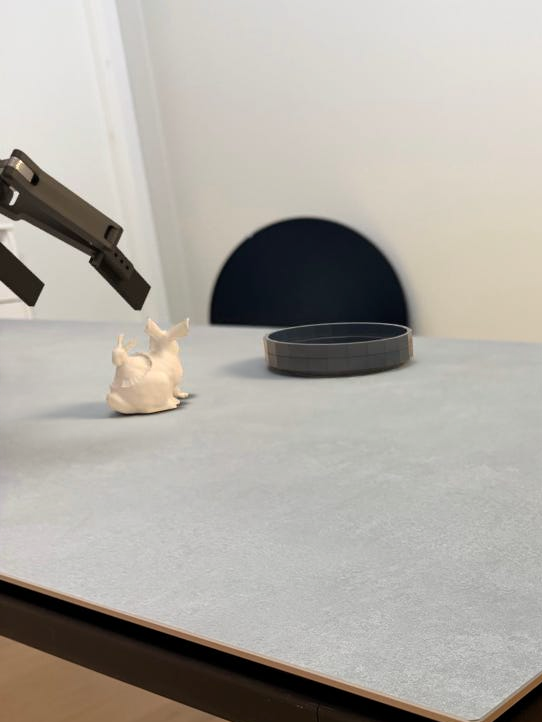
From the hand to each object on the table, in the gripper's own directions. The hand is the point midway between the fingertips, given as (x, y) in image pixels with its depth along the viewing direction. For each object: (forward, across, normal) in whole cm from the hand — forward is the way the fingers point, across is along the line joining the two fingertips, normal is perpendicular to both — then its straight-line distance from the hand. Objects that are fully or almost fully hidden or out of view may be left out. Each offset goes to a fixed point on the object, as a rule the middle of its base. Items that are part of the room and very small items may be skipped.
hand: (88, 297), depth 92 cm
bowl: (+35, +5, +17) cm, 39 cm away
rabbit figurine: (+14, 0, -3) cm, 15 cm away
